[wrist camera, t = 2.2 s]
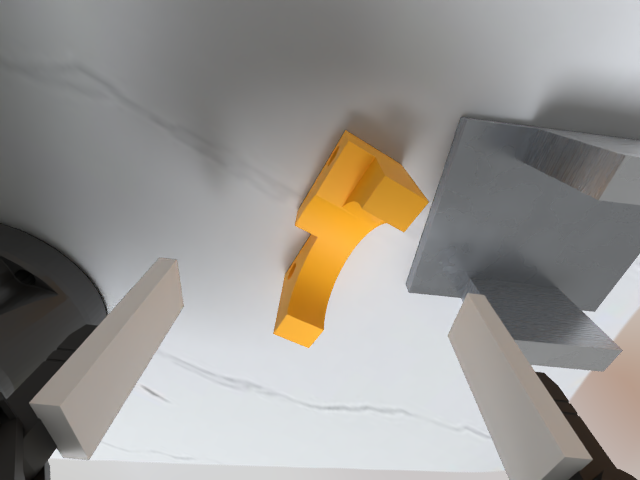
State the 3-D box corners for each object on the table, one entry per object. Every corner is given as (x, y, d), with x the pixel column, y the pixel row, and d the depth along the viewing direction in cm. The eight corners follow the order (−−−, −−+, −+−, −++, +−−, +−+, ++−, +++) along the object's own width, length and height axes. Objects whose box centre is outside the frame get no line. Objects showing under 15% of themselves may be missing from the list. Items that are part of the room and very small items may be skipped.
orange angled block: (345, 129, 19) (353, 156, 13) (400, 163, 20) (429, 201, 15) (265, 264, 24) (247, 323, 19) (312, 285, 25) (308, 348, 20)
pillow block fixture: (405, 284, 25) (431, 355, 19) (460, 116, 18) (527, 143, 12) (585, 303, 26) (666, 377, 20) (700, 148, 19) (874, 187, 13)
